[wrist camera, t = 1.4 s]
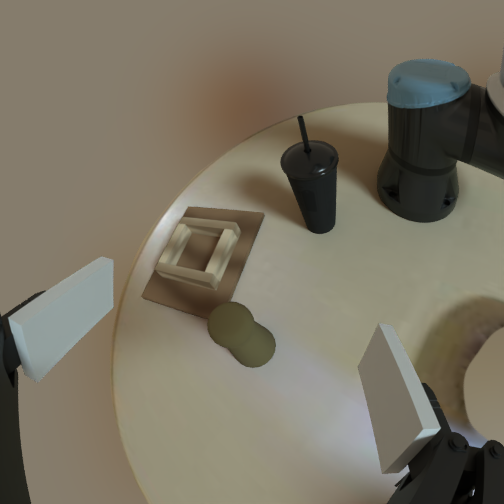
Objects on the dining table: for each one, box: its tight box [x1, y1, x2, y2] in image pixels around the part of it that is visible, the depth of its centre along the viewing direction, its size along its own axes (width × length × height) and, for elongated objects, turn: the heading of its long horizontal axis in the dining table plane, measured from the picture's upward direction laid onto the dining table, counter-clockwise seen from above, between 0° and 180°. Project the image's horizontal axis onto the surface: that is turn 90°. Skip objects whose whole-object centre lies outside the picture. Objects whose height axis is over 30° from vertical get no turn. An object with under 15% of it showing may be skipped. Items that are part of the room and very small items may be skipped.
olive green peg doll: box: [207, 302, 276, 368], centre depth 35 cm, size 6×6×11 cm
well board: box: [142, 207, 265, 319], centre depth 49 cm, size 20×16×4 cm
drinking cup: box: [280, 116, 339, 234], centre depth 40 cm, size 8×8×20 cm
